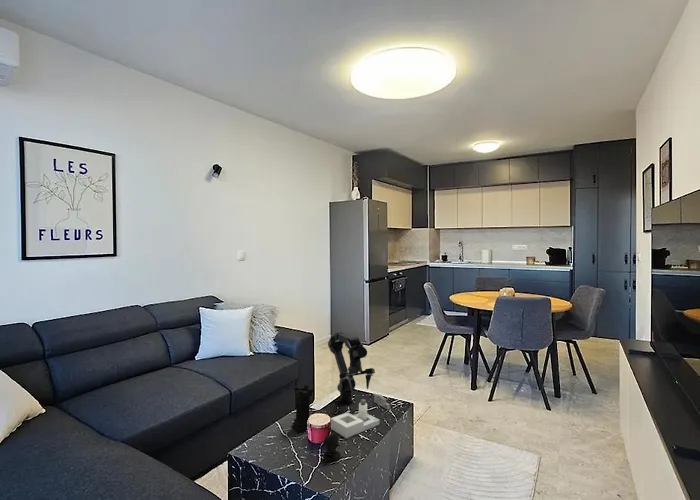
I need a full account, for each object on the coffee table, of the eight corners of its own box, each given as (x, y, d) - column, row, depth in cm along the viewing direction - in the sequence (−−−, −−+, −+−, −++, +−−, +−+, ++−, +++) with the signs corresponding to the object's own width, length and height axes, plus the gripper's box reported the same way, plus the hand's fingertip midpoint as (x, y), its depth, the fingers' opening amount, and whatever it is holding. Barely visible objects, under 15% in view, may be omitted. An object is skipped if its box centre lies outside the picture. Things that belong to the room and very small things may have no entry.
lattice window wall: (389, 409, 213) (390, 398, 213) (387, 410, 212) (387, 399, 212) (375, 401, 223) (376, 391, 222) (373, 402, 222) (373, 392, 221)
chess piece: (297, 434, 182) (299, 392, 182) (291, 427, 189) (292, 386, 189) (313, 430, 187) (314, 389, 186) (306, 423, 193) (307, 384, 193)
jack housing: (330, 428, 189) (330, 418, 189) (363, 416, 204) (363, 406, 204) (346, 438, 180) (346, 427, 180) (379, 424, 195) (379, 414, 195)
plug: (356, 424, 195) (357, 400, 194) (361, 420, 198) (361, 397, 198) (363, 426, 192) (364, 402, 192) (368, 423, 196) (368, 399, 196)
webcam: (330, 450, 170) (330, 427, 169) (344, 455, 166) (345, 432, 165) (319, 458, 163) (319, 434, 163) (333, 464, 159) (334, 440, 159)
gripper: (334, 362, 206) (338, 393, 201) (367, 356, 202) (372, 388, 197) (340, 363, 217) (344, 392, 211) (372, 357, 212) (377, 387, 207)
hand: (359, 390), depth 206 cm, fingers open, 9 cm apart
